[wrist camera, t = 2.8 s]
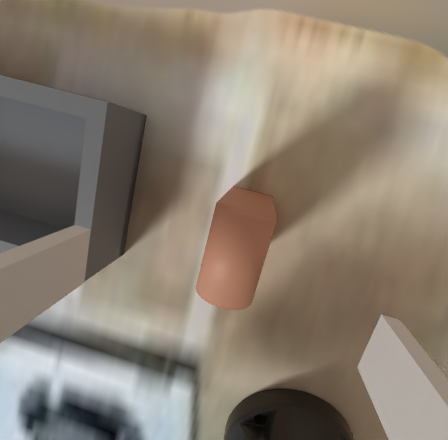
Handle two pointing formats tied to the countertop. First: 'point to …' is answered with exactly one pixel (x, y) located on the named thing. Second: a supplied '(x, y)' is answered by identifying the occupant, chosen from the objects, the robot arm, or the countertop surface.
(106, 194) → the open box
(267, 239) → the wooden peg
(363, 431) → the countertop surface
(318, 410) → the robot arm
